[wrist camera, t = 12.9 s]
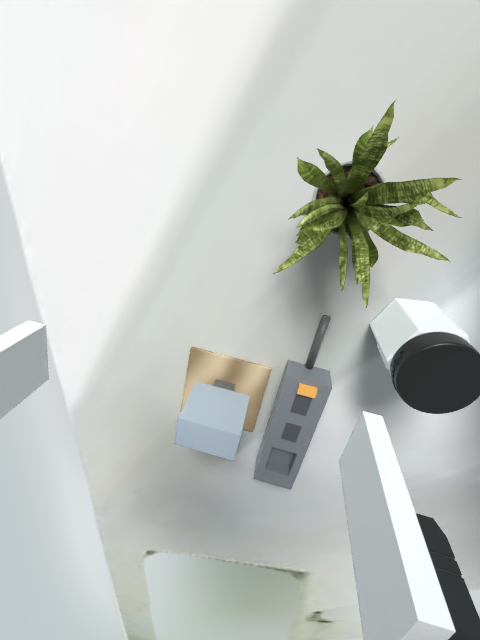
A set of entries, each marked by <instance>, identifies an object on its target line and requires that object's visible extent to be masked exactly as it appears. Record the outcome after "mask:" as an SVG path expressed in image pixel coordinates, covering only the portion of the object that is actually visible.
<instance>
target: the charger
mask: <svg viewBox="0 0 480 640" xmlns="http://www.w3.org/2000/svg"><path fill="white" fill-rule="evenodd" d="M234 387H235V384H232V383H228V382H225V381H221V380H217V379H216V380H215V382H214V385H213V386H212V385H208V384H205V383H201V382H198V381H196V383H195V385H194V387H193V389H192V391H191V393H190V395H189V397H188V399H187V401H186V403H185V405H184V407H183V409H182V411H181V413H180V415H179V417H178V422H177V428H176V434H175V440H174V444H176V445H180V446H183V447H187V448H190V449H194V450H197V451H201V452H204V453H208V454H211V455H215V456H218V457H222V458H225V459H229V460H232V461H234V459H235V455H236V452H237V448H238V445H239V441H240V437H241V433H242V429H243V424H244V420H245V415H246V411H247V406H248V402H249V397H250V396H249V395H245V394H241V393H238V392H234Z"/></svg>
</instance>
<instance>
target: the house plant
mask: <svg viewBox="0 0 480 640" xmlns="http://www.w3.org/2000/svg"><path fill="white" fill-rule="evenodd" d="M396 100H397V99H396ZM396 100H395V101H396ZM395 101H394V102H395ZM394 102H393V103H392V104H391V106H390V107H389V108H388V110H387V112H386V113H385V115H384V116H383V118H382V119H381V121H380V122H379V123H378V125H377V127H376V129H375V131H374V132H373V134H372V130H373V127H372V128H371V129H370V130H369V131H367V132H366V133H364V134H363V135H361V137H360V138H359V140H358V141H357V144H356V146H355V149H354V153H353V161H348V162H343V163H341V164H340V163H339V162H338V161H337V160H336V159H335V158H334V157H332V156H331V155H330V154H328V153H326V152H324V151H322V150H320V149H318V152H319V154H320V156H321V157H322V158H323V159H324V161H325V165H326V168H327V169H328V170H329V171H327V172H326V173H325V174H324V173H323V172H322V171H321V170H320V169H319V168H318V167H317V166H315V165H313V164H311V163H308V162H305V161H302V160H300V159H299V158H298V157H297V159H298V172H299V174H300V176H301V177H302V179H303V180H304V181H306V182H307V183H309V184H311V185H313V186H315V187H316V188H315V190H314V194H313V198H312V202H310V203H308V204H306V205H305V206H303V207H302V208H300V209H299V210H298V211H297V212H295V213H294V214H293V215H292V216H291V217H290V218H296V217H298V216H300V215H307V216H306V217H305V218H304V219H303V220H302V221H301V223H300V224H299V225H298V226H297V227H300V226H302V225H303V226H302V228H301V229H300V231H299V233H298V234H297V235H299V237H298V240H297V242H296V243H298V244H300V246H299V247H298V248H297V249H296V250H295V252H294V253H293V254H292V255H291V256H290V258H289V259H287V260H286V261H285V262H284V263H283V264H281V265H280V266H279V268H278V269H277V271H276V272H275V273H278V272H280V271H281V270H283V269H285V268H288V267H289V266H291V265H293V264H294V263H296V262H298V261H299V260H301V259H302V258H303V257H305V256H306V255H308V254H309V253H310V252H312V251H313V250H314V249H316V248H317V247H319V246H320V245H321V244H322V243H323V242H324V241H325V239H326V238H327V236H328V235H329V234H331V235H333V236H335V237H339V238H340V257H339V272H340V285H341V289H342V290H343V286H344V282H345V276H346V268H347V252H348V248H347V240H346V238H350V240H351V246H352V263H353V266H354V270H355V280H356V282H357V283H358V280H360V283H361V286H362V294H363V300H364V302H365V304H366V308H367V305H368V298H369V288H370V267H373V265H374V264H375V263H376V261H377V260H378V251H377V248H376V246H375V245H374V243H373V241H372V240H371V238H370V236H369V233H368V231H369V230H371V231H373V232H374V233H375V234H377V235H378V236H380V237H381V238H383V239H384V240H386V241H387V242H389V243H390V244H392V245H394V246H396V247H398V248H400V249H402V250H404V251H409V252H413V253H418V254H423V255H426V256H429V257H431V258H434V259H437V260H447V261H449V260H448V259H447V258H446V257H444V256H443V255H441V254H440V253H439V252H437V251H436V250H434V249H432V248H430V247H428V246H427V245H425V244H423V243H421V242H419V241H417V240H415V239H413V238H411V237H409V236H407V235H405V234H403V233H401V232H400V231H398V230H397V229H395V228H394V227H392V226H391V225H394V226H400V227H404V226H410V225H413V226H418V227H420V228H422V229H425V230H432V229H431V228H430V227H428V226H427V225H426V224H425V223H424V222H422V221H424V220H423V219H422V217H421V215H420V213H419V211H417V210H415V209H413V208H414V207H416V206H417V205H421V204H425V203H427V204H429V205H431V206H432V207H434V208H436V209H438V210H440V211H442V212H444V213H447V214H449V215H452V216H455V217H459V216H457V215H456V214H455V213H454V212H453V211H451V210H450V209H448V208H447V207H445V206H443V205H442V204H440V203H439V202H438V201H437V200H436V199H435V198H434V197H433V196H432V194H431V192H432V191H436V190H439V189H442V188H445V187H447V186H448V185H450V184H451V183H453V182H454V181H456V180H461V179H458V178H431V179H420V180H413V181H405V182H386V181H385V179H384V177H383V176H382V174H381V173H380V172H379V171H378V170H377V169H376V168H375V167H376V166H377V164H378V162H379V161H380V159H381V158H382V156H383V154H384V153H385V151H386V149H387V148H388V147H389V146H390V145H391V144H392V143H394V142H395V141H396V140H397V139H398V138H399V137H398V138H397V139H395V140H392V141H390V142H388V132H389V129H390V127H391V124H392V121H393V118H394ZM388 203H409V204H406V205H401V206H388V205H387V204H388ZM290 218H289V219H290ZM459 218H461V217H459ZM389 224H391V225H389ZM432 231H433V230H432ZM449 262H450V261H449ZM450 263H451V262H450ZM275 273H274V274H275Z"/></svg>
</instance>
